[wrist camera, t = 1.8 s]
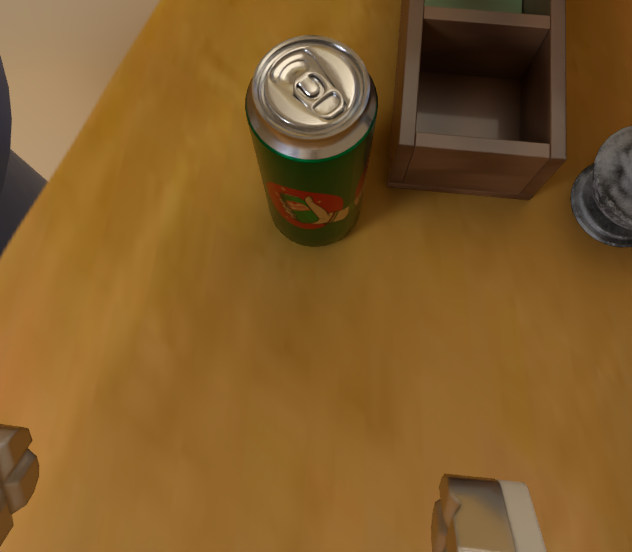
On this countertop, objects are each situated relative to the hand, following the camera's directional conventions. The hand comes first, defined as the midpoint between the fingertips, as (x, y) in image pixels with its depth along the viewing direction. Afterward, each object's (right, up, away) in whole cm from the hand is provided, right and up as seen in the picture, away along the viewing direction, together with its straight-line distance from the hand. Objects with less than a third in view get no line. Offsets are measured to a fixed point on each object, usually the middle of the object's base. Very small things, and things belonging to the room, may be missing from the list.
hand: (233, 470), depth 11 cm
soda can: (+2, +8, +21) cm, 22 cm away
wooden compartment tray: (+11, +19, +24) cm, 33 cm away
